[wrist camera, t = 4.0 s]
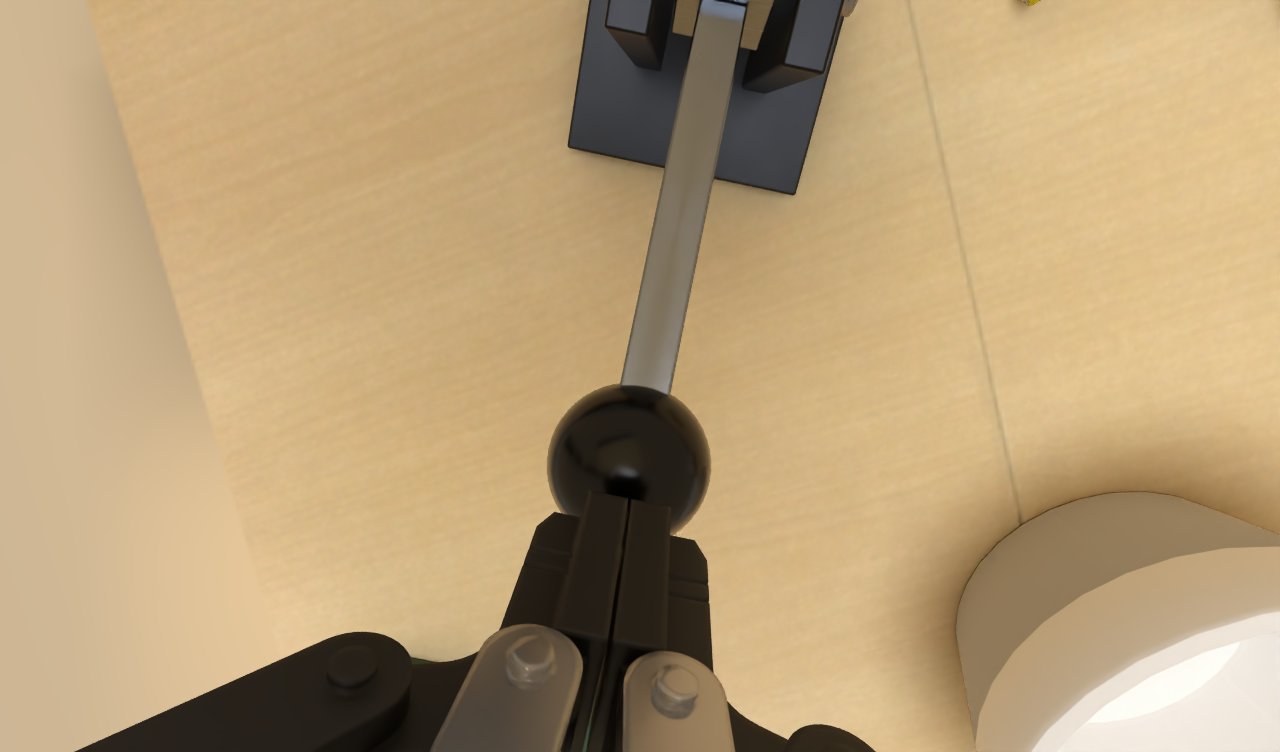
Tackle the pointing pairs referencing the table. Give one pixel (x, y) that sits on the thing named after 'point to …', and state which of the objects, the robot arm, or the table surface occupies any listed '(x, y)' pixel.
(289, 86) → the table surface
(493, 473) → the table surface
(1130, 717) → the bowl
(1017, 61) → the table surface
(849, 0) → the bracket
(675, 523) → the lever
